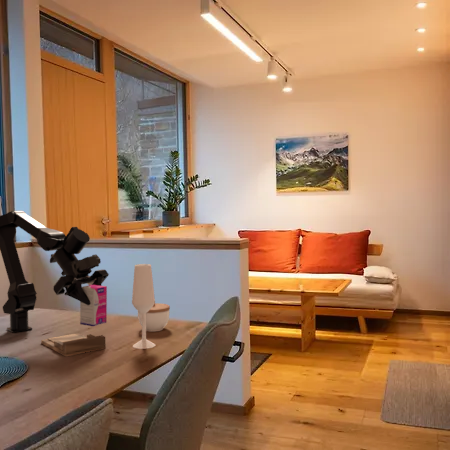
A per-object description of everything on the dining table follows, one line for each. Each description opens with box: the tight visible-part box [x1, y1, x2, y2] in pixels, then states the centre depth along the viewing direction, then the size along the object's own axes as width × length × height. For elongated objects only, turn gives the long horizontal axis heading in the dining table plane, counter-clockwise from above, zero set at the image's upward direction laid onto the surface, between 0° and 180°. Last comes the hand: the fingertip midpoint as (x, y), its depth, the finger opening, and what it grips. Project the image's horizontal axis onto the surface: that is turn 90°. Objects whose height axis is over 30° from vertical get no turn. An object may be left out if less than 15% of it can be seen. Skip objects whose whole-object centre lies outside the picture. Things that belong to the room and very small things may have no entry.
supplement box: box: [79, 285, 108, 327], centre depth 159 cm, size 6×6×12 cm
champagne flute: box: [131, 263, 156, 350], centre depth 154 cm, size 7×7×24 cm
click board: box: [40, 333, 106, 357], centre depth 155 cm, size 18×12×4 cm, turn 40°
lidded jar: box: [137, 302, 171, 333], centre depth 174 cm, size 11×11×9 cm
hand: (96, 302), depth 158 cm, fingers closed on supplement box, 6 cm apart
